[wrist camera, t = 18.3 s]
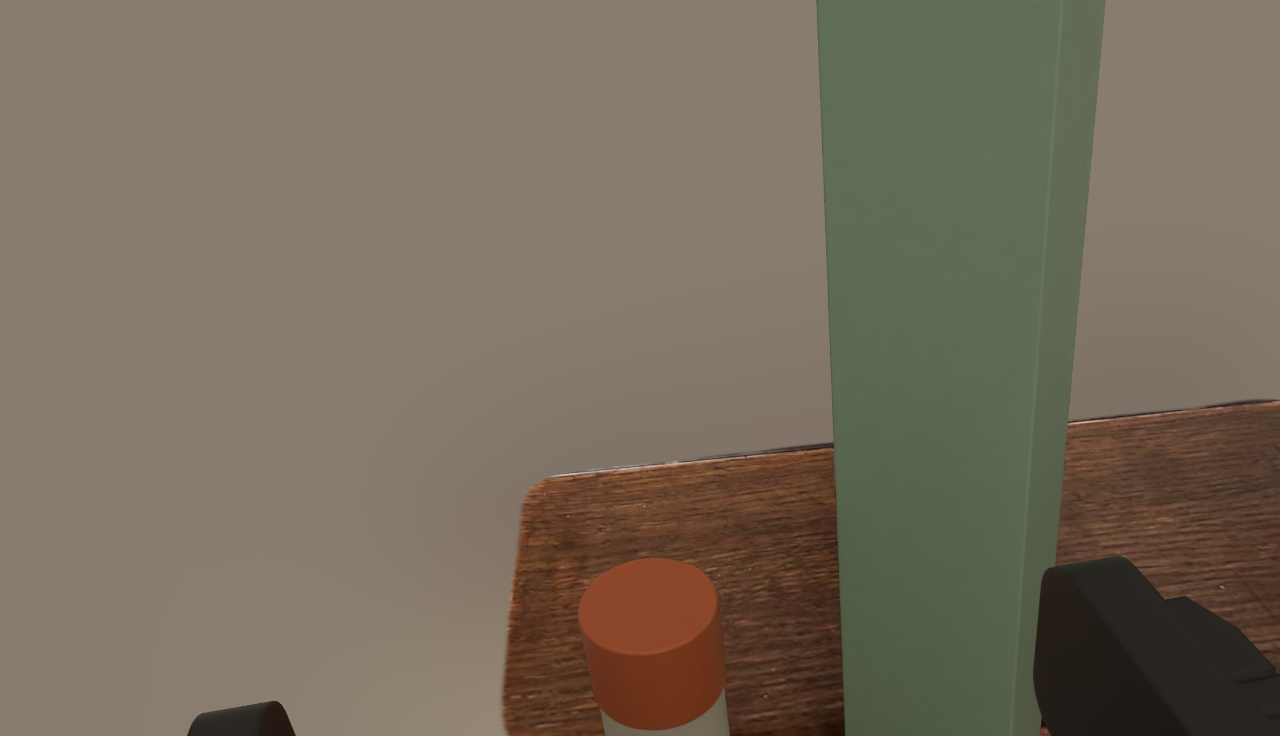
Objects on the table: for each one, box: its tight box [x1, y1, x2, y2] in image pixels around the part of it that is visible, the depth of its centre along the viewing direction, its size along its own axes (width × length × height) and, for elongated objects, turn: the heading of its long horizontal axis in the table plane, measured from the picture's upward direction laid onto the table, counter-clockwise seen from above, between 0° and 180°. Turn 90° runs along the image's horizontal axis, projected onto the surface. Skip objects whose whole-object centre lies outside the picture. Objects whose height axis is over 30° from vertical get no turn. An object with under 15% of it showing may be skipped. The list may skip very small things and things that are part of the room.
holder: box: [817, 0, 1106, 736], centre depth 26 cm, size 7×7×31 cm
